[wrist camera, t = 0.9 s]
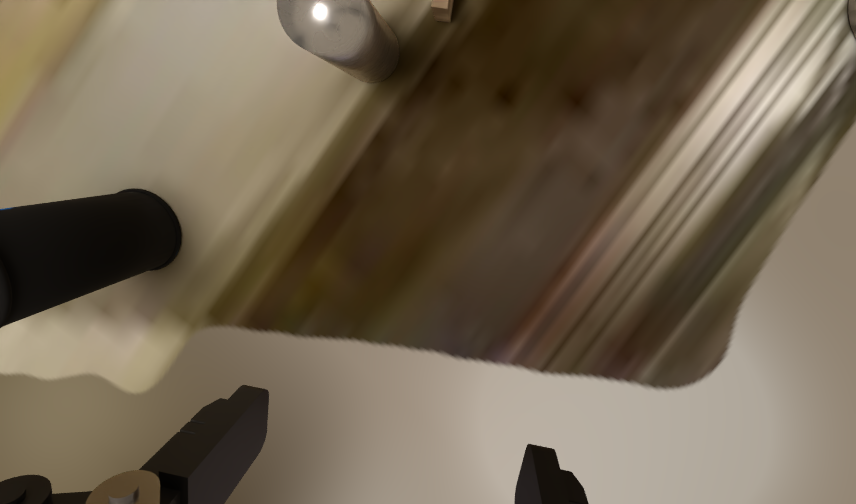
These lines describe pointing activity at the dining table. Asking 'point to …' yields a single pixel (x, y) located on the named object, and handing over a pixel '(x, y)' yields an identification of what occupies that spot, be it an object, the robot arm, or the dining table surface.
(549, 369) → the dining table surface
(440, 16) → the channel
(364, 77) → the shaft
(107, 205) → the aerosol can
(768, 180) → the dining table surface
